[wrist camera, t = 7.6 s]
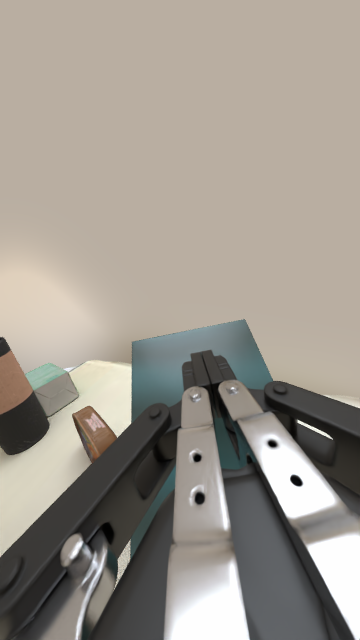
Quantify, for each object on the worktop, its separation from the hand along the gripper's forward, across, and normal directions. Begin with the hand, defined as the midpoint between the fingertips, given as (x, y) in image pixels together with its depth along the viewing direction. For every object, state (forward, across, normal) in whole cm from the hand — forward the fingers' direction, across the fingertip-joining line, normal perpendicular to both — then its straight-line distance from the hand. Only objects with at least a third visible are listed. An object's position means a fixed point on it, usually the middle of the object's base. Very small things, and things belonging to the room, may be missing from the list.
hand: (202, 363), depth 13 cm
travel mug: (+17, +35, +20) cm, 44 cm away
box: (+28, +37, +20) cm, 51 cm away
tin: (+8, +16, +20) cm, 27 cm away
